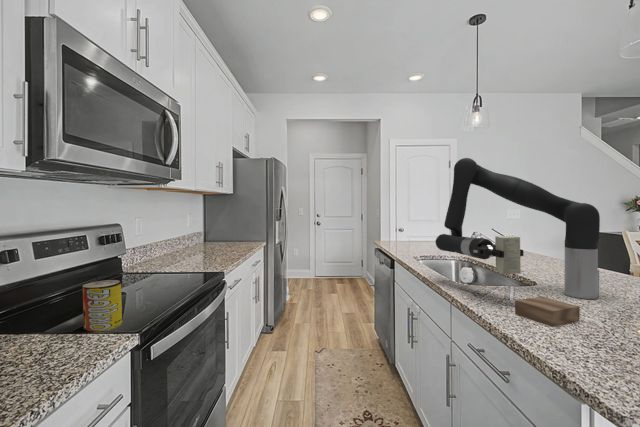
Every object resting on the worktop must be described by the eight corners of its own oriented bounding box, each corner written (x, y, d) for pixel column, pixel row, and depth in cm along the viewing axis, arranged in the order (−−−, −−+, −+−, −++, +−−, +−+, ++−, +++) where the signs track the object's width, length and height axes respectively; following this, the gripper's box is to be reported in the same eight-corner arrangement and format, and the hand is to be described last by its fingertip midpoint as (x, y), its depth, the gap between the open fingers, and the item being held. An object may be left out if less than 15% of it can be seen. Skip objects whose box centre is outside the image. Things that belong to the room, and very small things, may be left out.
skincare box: (514, 271, 109) (514, 235, 109) (521, 274, 104) (521, 236, 104) (494, 271, 109) (494, 235, 109) (500, 274, 105) (500, 237, 105)
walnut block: (540, 310, 101) (541, 296, 101) (579, 322, 90) (579, 306, 90) (515, 315, 97) (515, 300, 97) (552, 327, 87) (552, 311, 87)
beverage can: (79, 326, 90) (78, 284, 90) (116, 318, 97) (115, 278, 97) (88, 334, 84) (87, 289, 84) (126, 325, 91) (125, 283, 91)
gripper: (460, 238, 119) (494, 243, 103) (492, 236, 122) (530, 241, 106) (460, 258, 119) (495, 266, 103) (492, 256, 123) (530, 263, 107)
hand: (513, 253), depth 105 cm, fingers closed on skincare box, 7 cm apart
